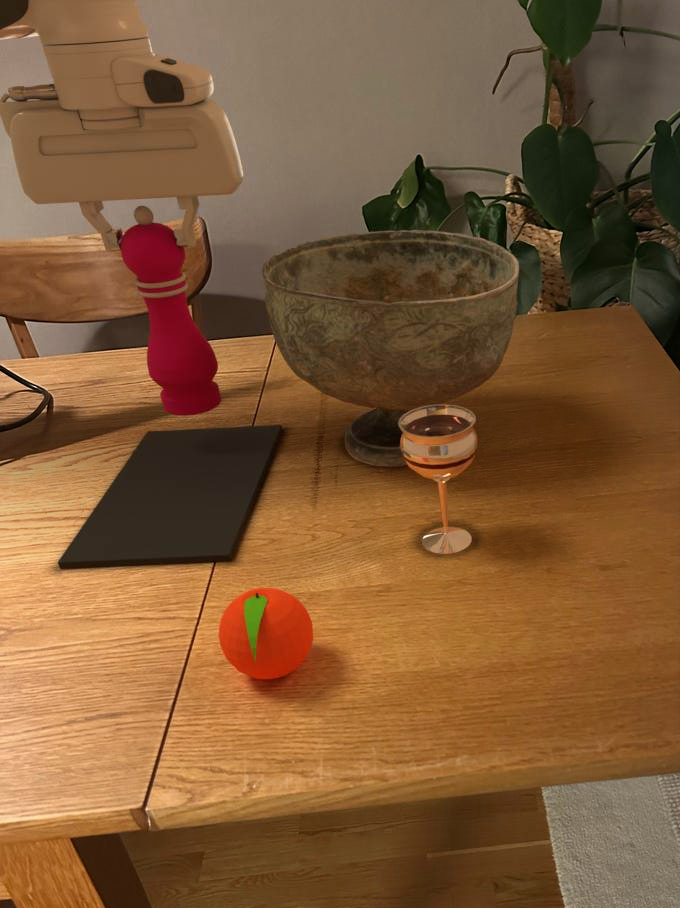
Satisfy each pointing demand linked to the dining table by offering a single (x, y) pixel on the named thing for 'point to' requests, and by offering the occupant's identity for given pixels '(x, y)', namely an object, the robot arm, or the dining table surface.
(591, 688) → the dining table surface
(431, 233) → the decorative bowl
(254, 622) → the clementine
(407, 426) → the wineglass
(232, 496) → the mat
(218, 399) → the pepper mill
